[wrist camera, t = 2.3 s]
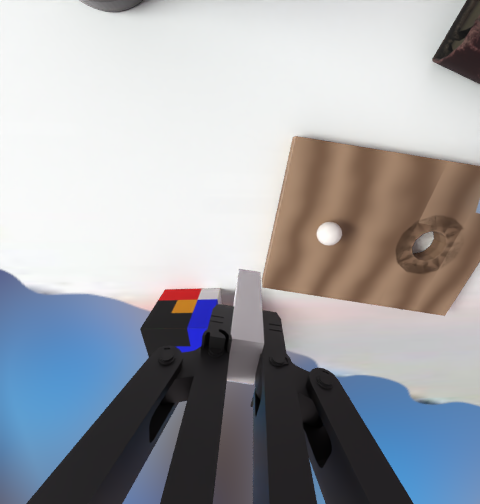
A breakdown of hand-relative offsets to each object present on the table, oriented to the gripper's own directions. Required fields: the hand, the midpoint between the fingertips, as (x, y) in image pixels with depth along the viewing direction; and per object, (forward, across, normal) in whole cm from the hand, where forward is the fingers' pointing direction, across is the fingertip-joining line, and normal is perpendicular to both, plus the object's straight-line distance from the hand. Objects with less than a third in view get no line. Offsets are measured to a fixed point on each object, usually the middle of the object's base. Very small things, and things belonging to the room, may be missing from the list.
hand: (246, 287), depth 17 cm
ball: (+16, +11, 0) cm, 19 cm away
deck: (+20, +18, 0) cm, 27 cm away
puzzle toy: (+21, -7, -20) cm, 29 cm away
